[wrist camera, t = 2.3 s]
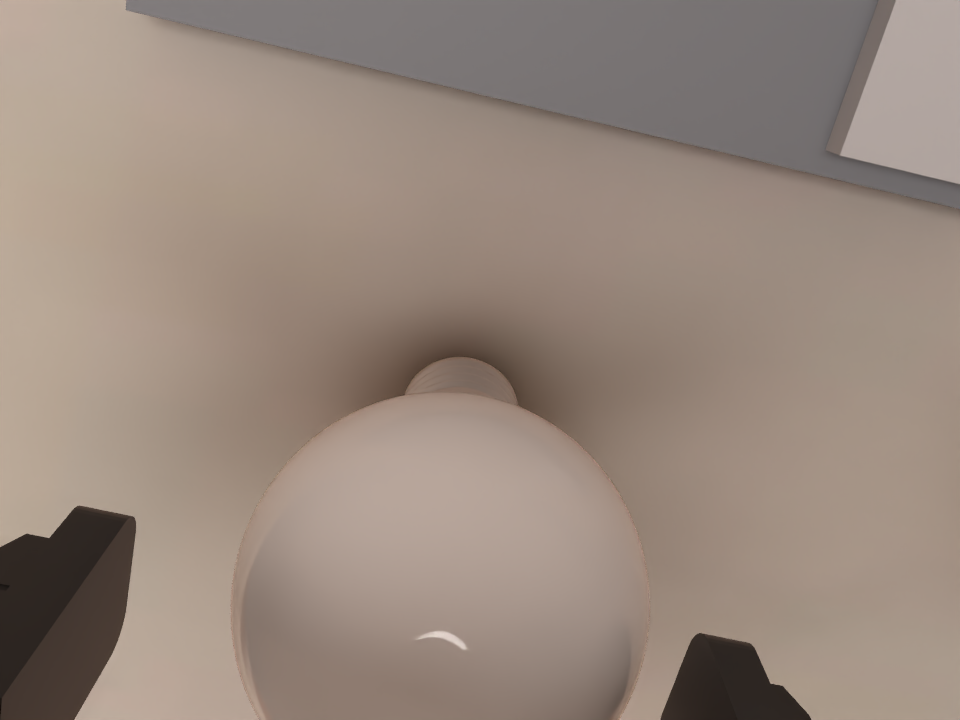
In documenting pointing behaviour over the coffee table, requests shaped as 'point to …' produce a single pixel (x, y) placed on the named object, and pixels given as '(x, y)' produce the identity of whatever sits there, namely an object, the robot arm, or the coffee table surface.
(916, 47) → the socket board
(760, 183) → the coffee table surface
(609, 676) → the lightbulb
